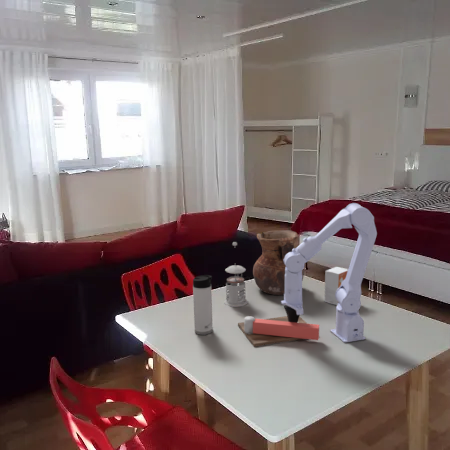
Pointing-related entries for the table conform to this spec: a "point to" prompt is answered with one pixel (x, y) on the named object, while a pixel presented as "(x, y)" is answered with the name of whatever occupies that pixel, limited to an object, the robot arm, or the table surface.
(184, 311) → the table surface
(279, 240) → the jug
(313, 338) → the swing arm
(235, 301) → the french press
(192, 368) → the table surface
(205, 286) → the travel mug
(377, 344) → the table surface
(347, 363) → the table surface
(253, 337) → the label board
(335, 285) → the small box
